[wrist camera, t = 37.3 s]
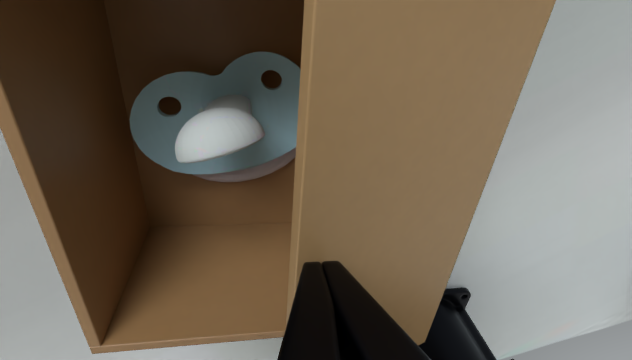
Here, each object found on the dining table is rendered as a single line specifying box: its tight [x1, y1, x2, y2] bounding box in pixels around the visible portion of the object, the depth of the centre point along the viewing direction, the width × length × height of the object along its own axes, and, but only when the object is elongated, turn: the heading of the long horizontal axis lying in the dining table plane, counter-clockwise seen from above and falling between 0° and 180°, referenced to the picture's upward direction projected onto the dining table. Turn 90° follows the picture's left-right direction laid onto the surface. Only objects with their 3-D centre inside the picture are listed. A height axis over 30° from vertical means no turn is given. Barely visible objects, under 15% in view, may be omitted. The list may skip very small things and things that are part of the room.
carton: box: [0, 0, 304, 354], centre depth 14 cm, size 13×13×7 cm
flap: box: [286, 0, 556, 345], centre depth 10 cm, size 6×13×1 cm, turn 176°
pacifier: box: [130, 51, 300, 182], centre depth 14 cm, size 7×6×6 cm
